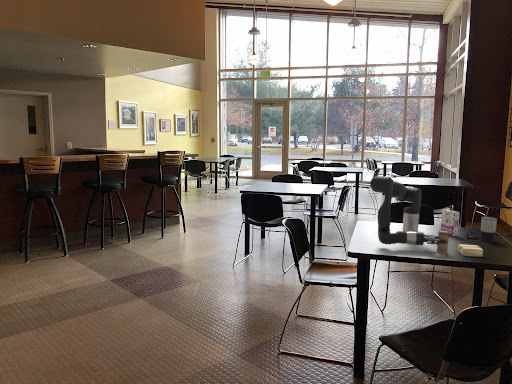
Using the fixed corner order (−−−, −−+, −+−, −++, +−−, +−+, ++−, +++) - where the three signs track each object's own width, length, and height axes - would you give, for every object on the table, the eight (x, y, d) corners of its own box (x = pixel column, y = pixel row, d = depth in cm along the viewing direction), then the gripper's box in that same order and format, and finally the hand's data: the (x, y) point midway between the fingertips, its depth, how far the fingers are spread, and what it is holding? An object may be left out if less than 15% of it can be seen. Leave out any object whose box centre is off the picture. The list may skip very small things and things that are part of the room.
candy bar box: (458, 236, 281) (460, 212, 279) (452, 236, 279) (454, 212, 277) (445, 232, 291) (447, 209, 289) (439, 232, 289) (441, 209, 287)
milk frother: (498, 242, 265) (500, 219, 264) (473, 241, 265) (475, 218, 263) (486, 237, 279) (488, 215, 278) (462, 236, 279) (464, 215, 278)
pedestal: (457, 250, 241) (458, 244, 240) (476, 252, 239) (477, 245, 238) (462, 255, 231) (463, 248, 230) (482, 256, 229) (483, 249, 228)
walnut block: (436, 250, 239) (438, 230, 238) (445, 251, 238) (446, 231, 237) (438, 252, 235) (440, 232, 233) (447, 253, 234) (449, 232, 232)
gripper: (417, 234, 231) (448, 236, 228) (412, 229, 245) (441, 231, 242) (416, 247, 232) (447, 249, 229) (411, 241, 246) (440, 243, 243)
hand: (444, 240), depth 235 cm, fingers open, 8 cm apart
